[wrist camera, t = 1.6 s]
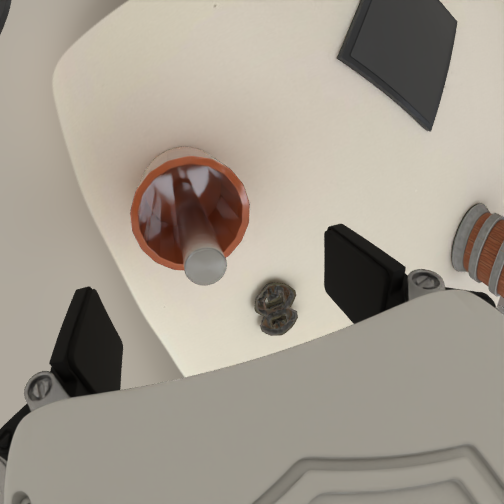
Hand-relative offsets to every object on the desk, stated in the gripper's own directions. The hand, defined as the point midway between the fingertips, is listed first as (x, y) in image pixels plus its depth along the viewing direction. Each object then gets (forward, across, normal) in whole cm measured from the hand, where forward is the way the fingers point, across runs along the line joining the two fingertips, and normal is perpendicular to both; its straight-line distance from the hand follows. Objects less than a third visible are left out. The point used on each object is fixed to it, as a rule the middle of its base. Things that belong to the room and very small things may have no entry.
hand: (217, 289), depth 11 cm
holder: (+16, 0, 0) cm, 16 cm away
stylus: (+15, 0, 0) cm, 15 cm away
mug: (+17, -50, +16) cm, 55 cm away
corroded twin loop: (+16, -7, +15) cm, 23 cm away
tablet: (+16, -29, -17) cm, 37 cm away
